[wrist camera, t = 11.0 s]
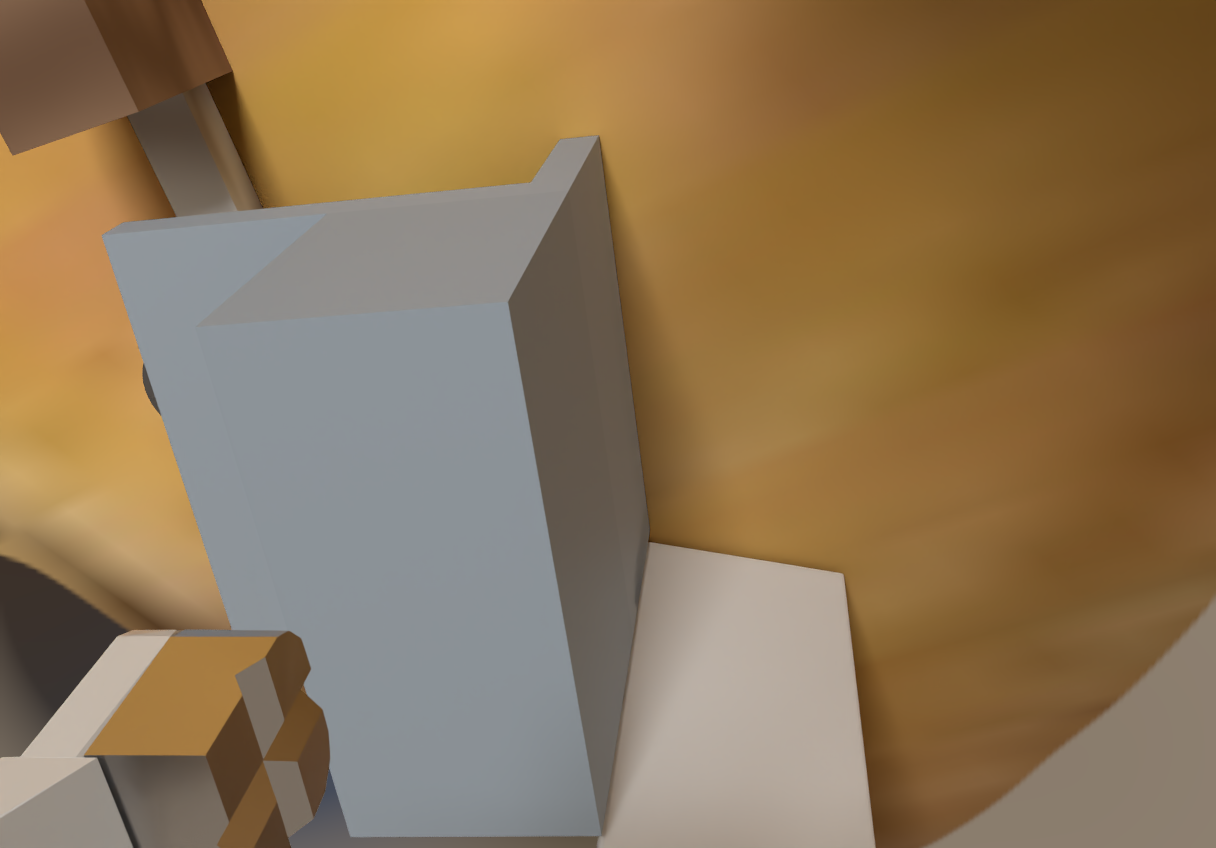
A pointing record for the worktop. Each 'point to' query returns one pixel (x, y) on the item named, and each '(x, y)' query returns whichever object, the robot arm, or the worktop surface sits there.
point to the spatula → (125, 89)
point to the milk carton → (738, 710)
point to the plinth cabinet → (417, 478)
